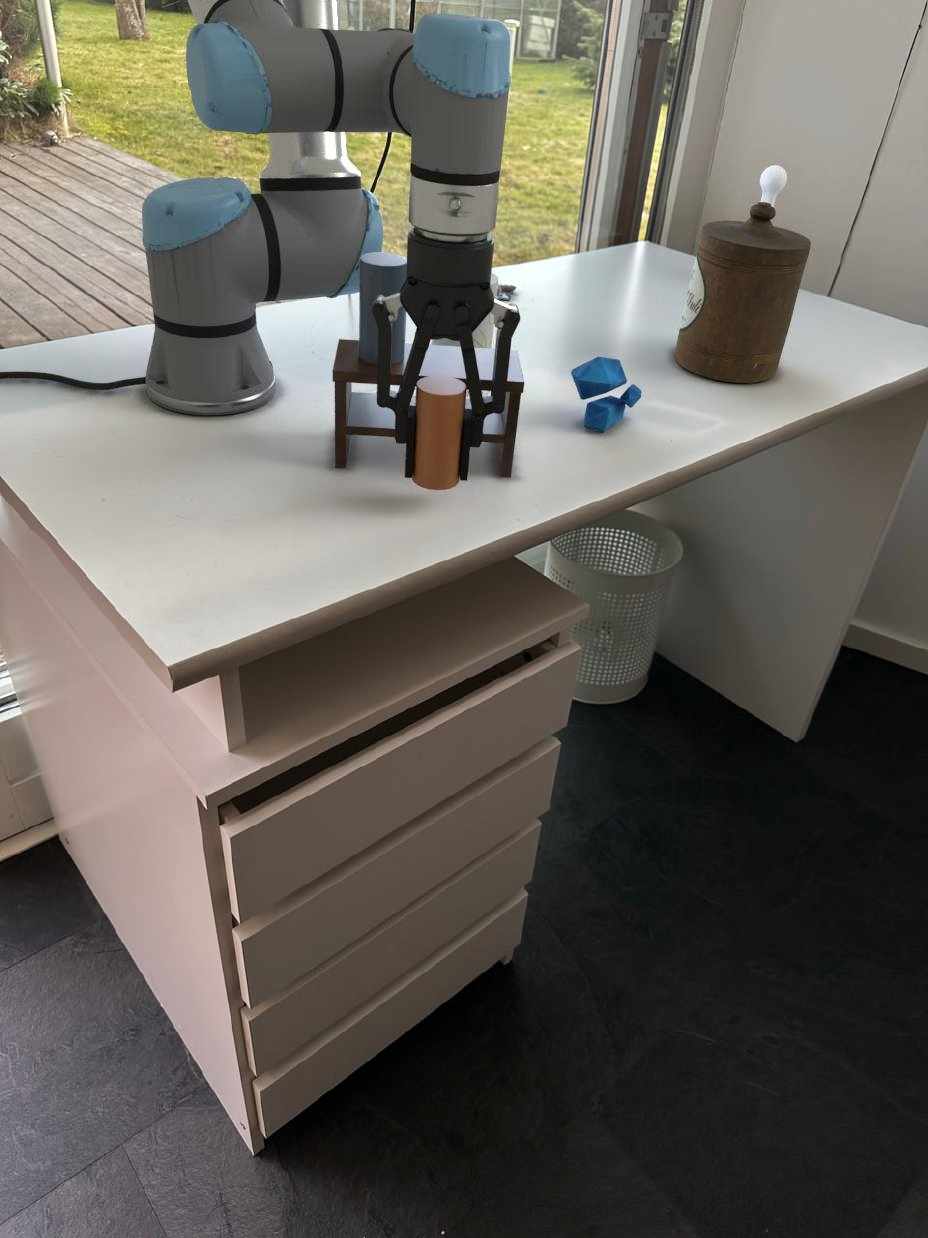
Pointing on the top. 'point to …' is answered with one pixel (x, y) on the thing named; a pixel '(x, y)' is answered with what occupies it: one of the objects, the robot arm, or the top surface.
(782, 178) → the white light bulb
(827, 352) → the top surface
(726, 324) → the wooden container
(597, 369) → the crystal
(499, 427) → the desk shelf
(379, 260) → the slate tin
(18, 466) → the top surface
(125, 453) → the top surface
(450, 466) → the copper tin
